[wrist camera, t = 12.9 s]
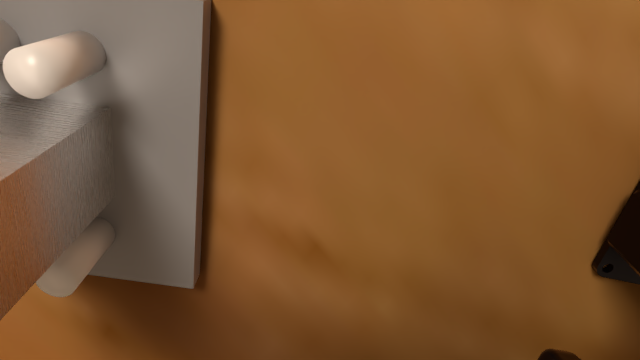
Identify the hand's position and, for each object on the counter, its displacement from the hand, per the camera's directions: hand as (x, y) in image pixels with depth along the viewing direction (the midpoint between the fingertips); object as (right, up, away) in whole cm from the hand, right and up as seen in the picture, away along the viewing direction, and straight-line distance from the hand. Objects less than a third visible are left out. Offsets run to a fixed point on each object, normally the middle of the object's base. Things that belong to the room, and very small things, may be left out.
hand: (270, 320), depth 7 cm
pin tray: (-10, +4, +13) cm, 17 cm away
